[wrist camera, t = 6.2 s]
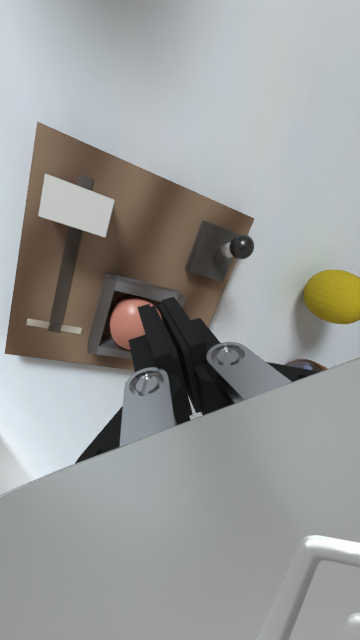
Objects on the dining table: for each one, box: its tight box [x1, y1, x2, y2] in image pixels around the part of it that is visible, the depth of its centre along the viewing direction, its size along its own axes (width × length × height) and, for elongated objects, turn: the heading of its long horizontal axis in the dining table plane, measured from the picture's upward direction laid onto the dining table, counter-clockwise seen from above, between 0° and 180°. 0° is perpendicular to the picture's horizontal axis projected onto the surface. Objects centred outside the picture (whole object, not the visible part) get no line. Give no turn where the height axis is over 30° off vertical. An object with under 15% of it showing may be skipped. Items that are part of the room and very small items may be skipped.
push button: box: [109, 295, 162, 350], centre depth 24 cm, size 5×5×2 cm
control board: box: [5, 122, 254, 370], centre depth 24 cm, size 18×18×4 cm
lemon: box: [303, 270, 360, 324], centre depth 28 cm, size 6×6×8 cm
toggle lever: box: [214, 234, 254, 260], centre depth 21 cm, size 2×2×4 cm
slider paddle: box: [38, 174, 115, 237], centre depth 18 cm, size 4×2×4 cm, turn 69°
